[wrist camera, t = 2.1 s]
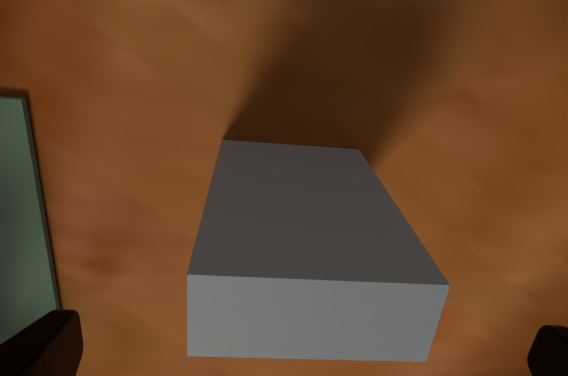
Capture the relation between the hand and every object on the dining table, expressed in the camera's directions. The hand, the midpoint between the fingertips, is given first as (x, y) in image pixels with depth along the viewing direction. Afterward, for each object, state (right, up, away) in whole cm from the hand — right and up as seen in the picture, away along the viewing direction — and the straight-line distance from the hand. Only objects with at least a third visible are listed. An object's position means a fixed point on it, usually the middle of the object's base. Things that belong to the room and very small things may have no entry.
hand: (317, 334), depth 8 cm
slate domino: (0, +3, +7) cm, 8 cm away
